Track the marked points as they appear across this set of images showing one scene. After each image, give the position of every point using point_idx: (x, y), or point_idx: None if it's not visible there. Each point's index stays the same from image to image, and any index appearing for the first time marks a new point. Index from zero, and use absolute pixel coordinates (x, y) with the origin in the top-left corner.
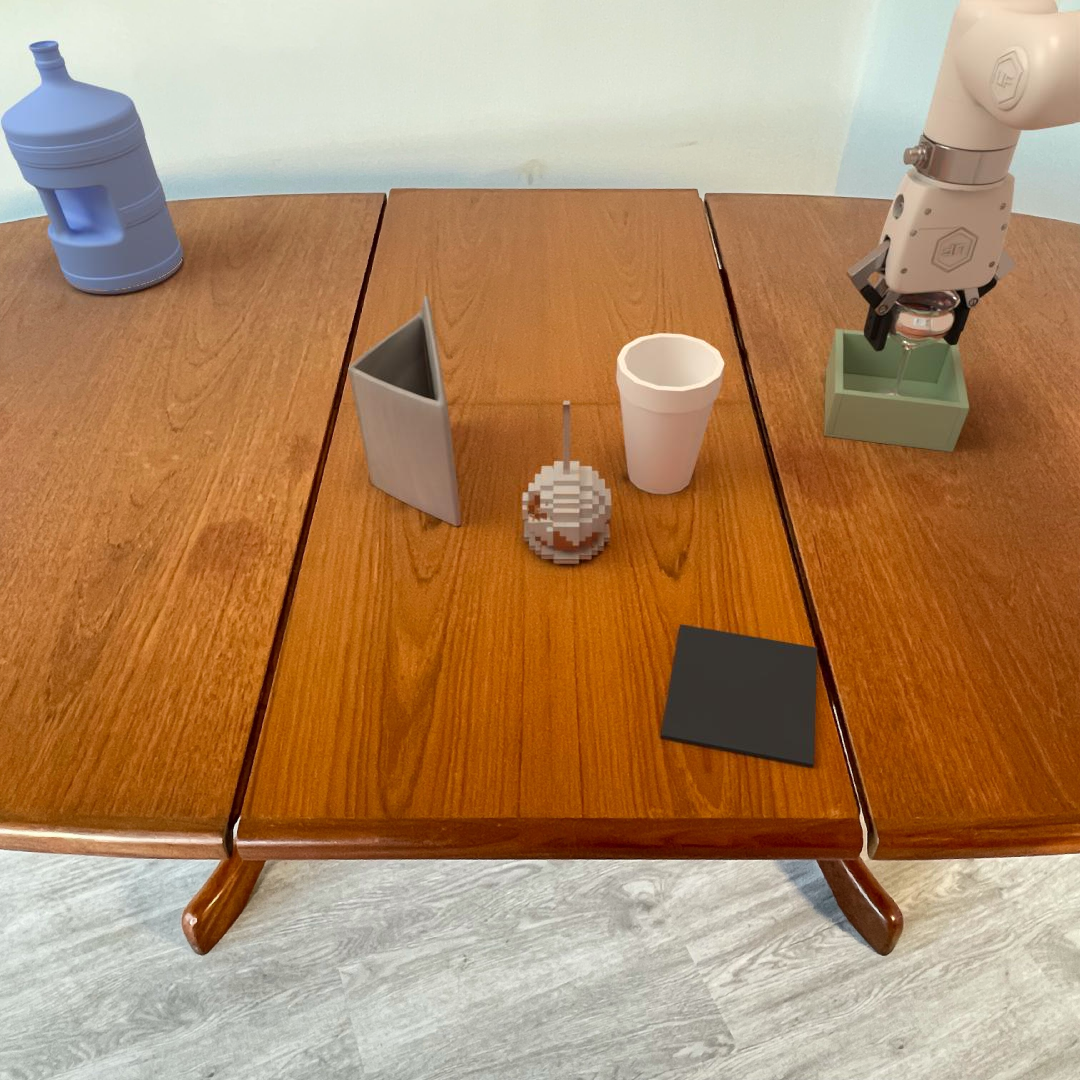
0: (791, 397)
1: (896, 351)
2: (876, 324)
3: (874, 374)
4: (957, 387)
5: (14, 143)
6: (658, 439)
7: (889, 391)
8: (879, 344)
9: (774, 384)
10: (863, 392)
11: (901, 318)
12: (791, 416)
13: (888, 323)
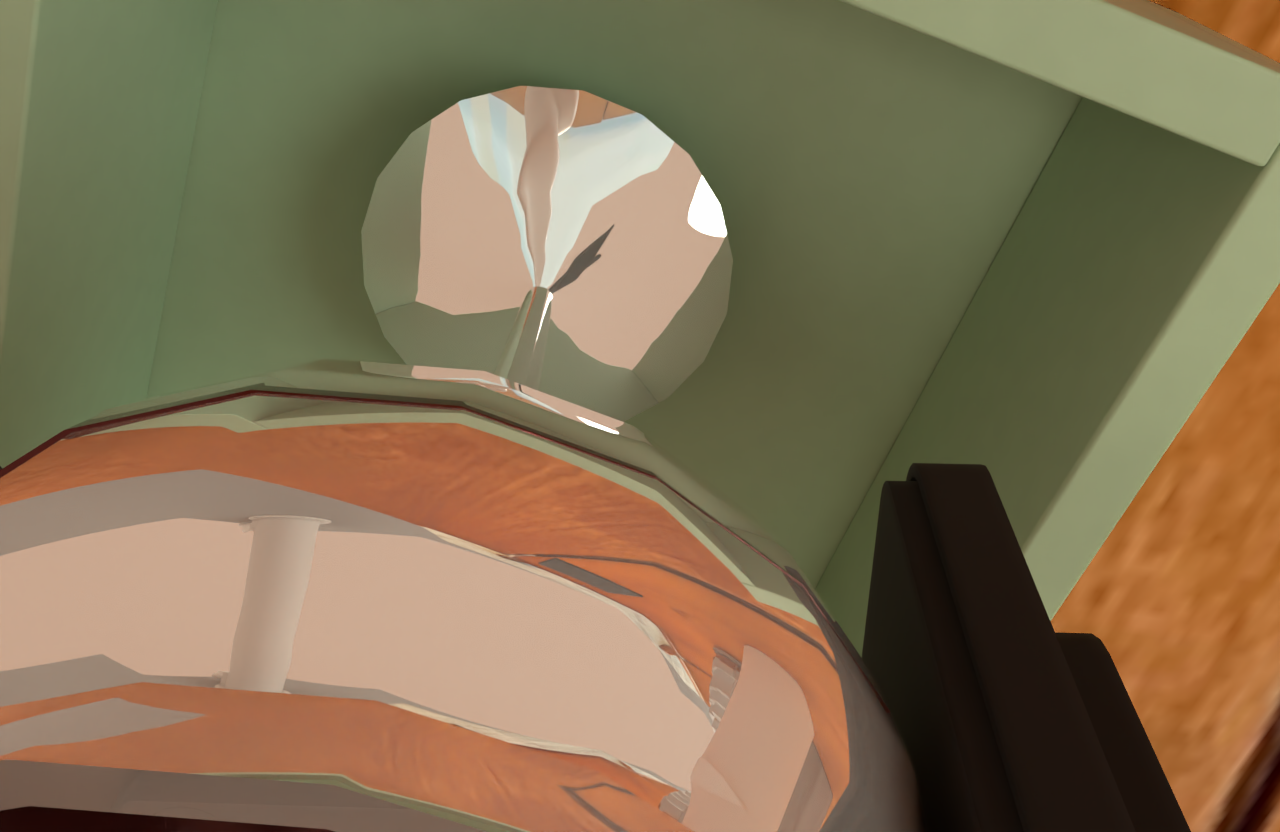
0: (1152, 487)
1: None
2: (1127, 803)
3: None
4: (39, 22)
5: None
6: None
7: (559, 344)
8: (999, 516)
9: (1184, 624)
10: (1087, 78)
11: (841, 812)
12: (1276, 290)
13: (1028, 764)
